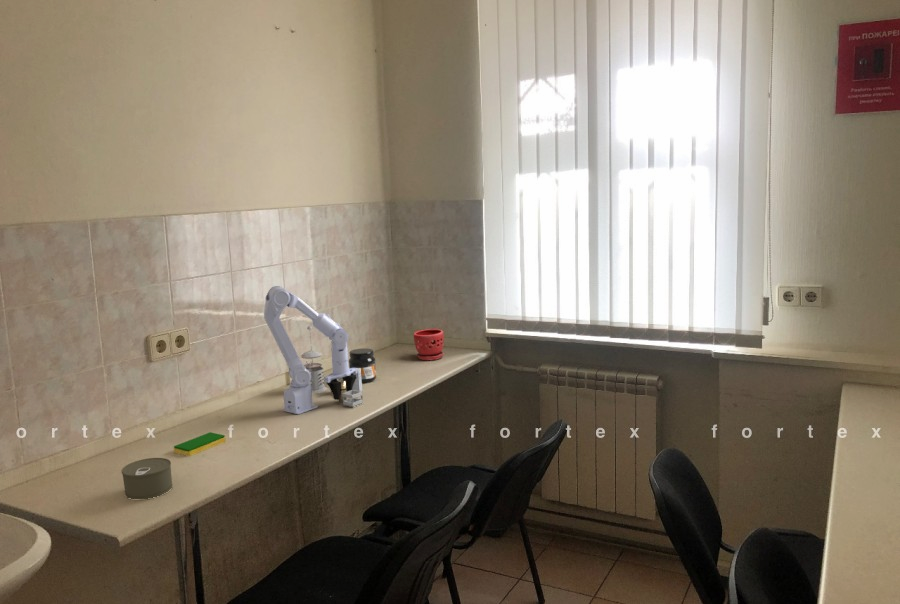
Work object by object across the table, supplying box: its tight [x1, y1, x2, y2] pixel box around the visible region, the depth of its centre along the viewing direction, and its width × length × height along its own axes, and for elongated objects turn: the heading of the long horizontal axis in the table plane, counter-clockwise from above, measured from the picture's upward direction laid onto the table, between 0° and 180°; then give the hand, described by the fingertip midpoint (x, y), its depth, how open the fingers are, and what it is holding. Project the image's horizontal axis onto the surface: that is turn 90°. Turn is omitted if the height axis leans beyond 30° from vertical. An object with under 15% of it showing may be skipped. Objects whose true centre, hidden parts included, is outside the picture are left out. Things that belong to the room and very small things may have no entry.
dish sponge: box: [173, 432, 226, 457], centre depth 225 cm, size 7×14×2 cm, turn 147°
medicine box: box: [338, 368, 363, 392], centre depth 276 cm, size 8×4×9 cm, turn 84°
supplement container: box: [348, 347, 377, 384], centre depth 291 cm, size 10×10×12 cm
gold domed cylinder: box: [338, 379, 348, 405], centre depth 263 cm, size 3×3×8 cm
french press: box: [300, 325, 328, 394], centre depth 278 cm, size 10×12×25 cm
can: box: [121, 457, 174, 500], centre depth 193 cm, size 12×12×7 cm
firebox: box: [342, 390, 364, 408], centre depth 260 cm, size 5×5×4 cm
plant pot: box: [413, 328, 445, 361], centre depth 322 cm, size 13×13×12 cm
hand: (342, 397), depth 263 cm, fingers open, 5 cm apart
